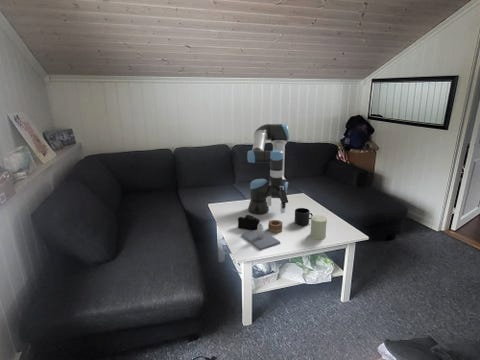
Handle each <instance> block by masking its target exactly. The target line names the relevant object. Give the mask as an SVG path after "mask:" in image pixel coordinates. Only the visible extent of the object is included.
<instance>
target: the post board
mask: <svg viewBox="0 0 480 360" xmlns="http://www.w3.org/2000/svg"><path fill="white" fill-rule="evenodd" d="M241 237H242V238H244V239H245V240H246V241H248V242H249V243H250V244H251V245H253V246H254V247H255V248H257V249H258V250H259V251H262V250H265V249H268V248H272V247H274V246H276V245H280V244H281V241H280V240H279V239H277V238H275V237H274V236H273V235H271V234H270V233H268V232H266V231H265V230H264V224H263V222H261V221H260V223H259V225H257V230H250V231H247V232H244V233H241Z"/></svg>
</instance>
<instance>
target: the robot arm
mask: <svg viewBox="0 0 480 360" xmlns="http://www.w3.org/2000/svg"><path fill="white" fill-rule="evenodd" d="M253 139H254V140H253V145H252V149H251V150H247V155H246V156H247V163H250V164H251V163H252V164H260V163H261V164H262V163H263V164H269V167H270V168H269V169H270V170H269V176H270V177H269V181H268V180H267V179H265V178H259V179H258V178H256V179H253V180H252V181H251V182H250V187H249V188H250V200H249V205H248V206H247V207H248V208H247V210H248V213H249V214H253V215H264V214H268V213H269V211H270V207H271V206H272V199H279V200H280V202H281V203H280V214H281V215H282V214H285V213H286V204H288V203H289V199H288V195H287V192H288V186H289V181H287V179H286V178H285V158H286V157H285V153H286V152H285V151H286V148H285V147H286V145H287V143H288V141H290V133H289V127H288V124H285V123H283V124H282V123H275V124H273V123H272V124H271V123H267V124H263V125H260V126H259V127H257V129H256V130H255V131H254V135H253ZM266 141H270V143H271V144H272V150H265V145H266Z"/></svg>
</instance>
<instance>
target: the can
mask: <svg viewBox="0 0 480 360" xmlns="http://www.w3.org/2000/svg"><path fill="white" fill-rule="evenodd" d="M310 218H311V219H310V234H309V236H310V237H311V238H312V239H315V240H324V239H325V238H327V236H326V235H327V223H328V222H327V221H328V218H327V217H325V216H323V215H318V214H317V215H316V214H315V215H313V216H312V217H310Z"/></svg>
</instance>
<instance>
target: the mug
mask: <svg viewBox="0 0 480 360" xmlns="http://www.w3.org/2000/svg"><path fill="white" fill-rule="evenodd" d="M310 215H311V217H312V216H314V214H313V213H312V212H310V209H308V208H305V207H297V208H296V209H294V224H295V225H297V226H300V227H306V226H309V224H310V220H311V217H310Z"/></svg>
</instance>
